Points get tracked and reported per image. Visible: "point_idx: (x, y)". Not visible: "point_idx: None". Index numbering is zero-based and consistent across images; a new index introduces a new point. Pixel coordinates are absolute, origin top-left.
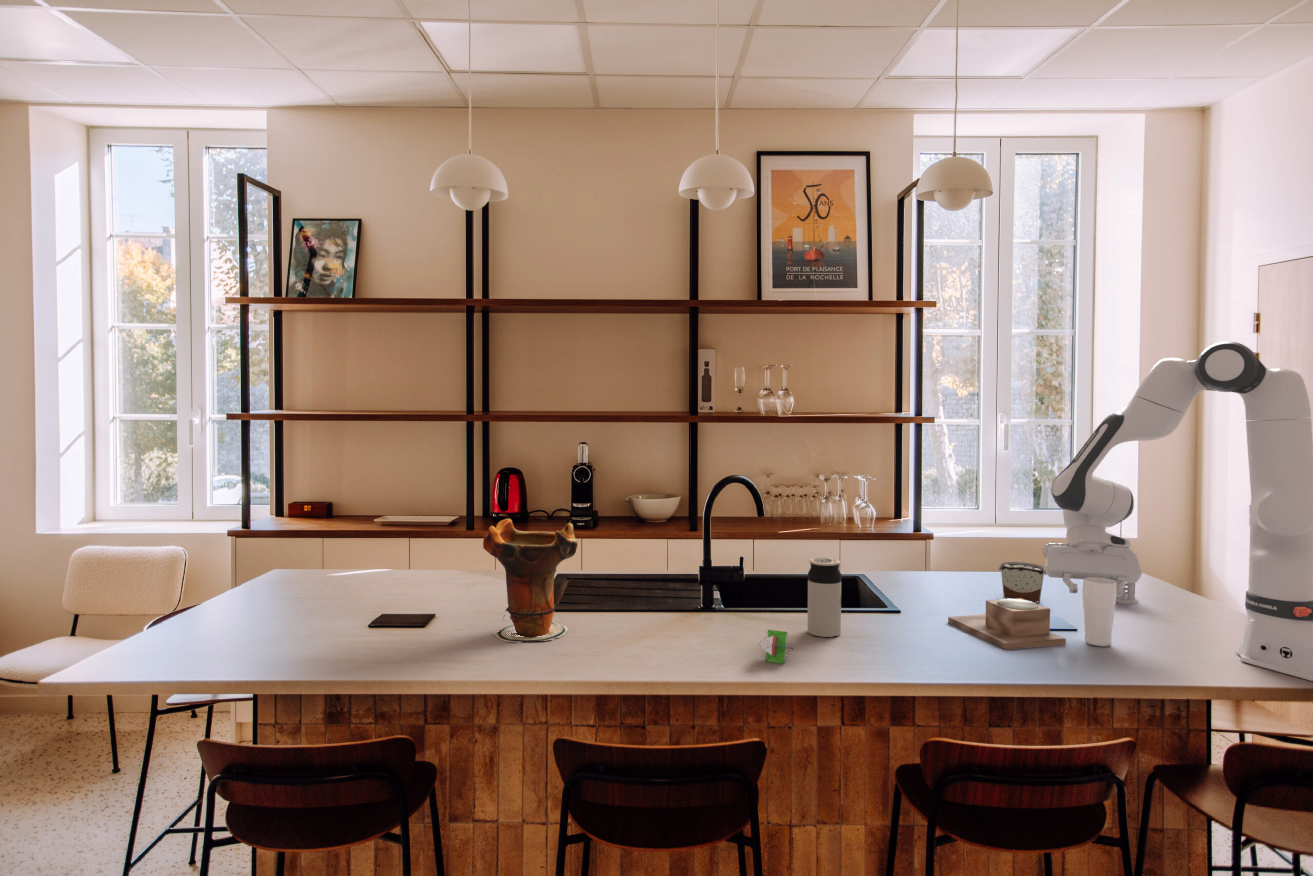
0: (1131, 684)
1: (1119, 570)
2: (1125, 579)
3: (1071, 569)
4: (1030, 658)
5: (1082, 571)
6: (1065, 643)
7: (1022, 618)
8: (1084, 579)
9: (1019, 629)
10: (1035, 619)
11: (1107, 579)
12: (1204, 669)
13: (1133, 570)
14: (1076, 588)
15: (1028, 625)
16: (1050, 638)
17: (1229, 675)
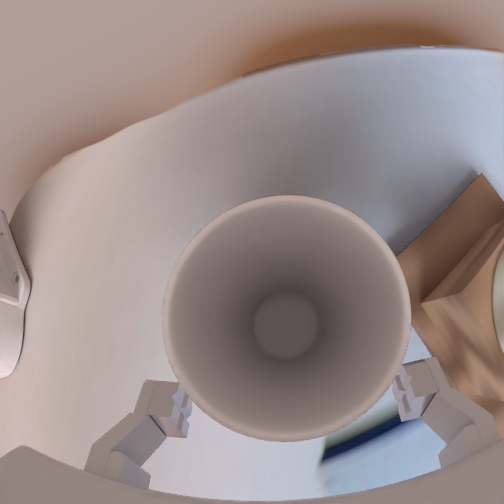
0: (259, 73)
1: (91, 501)
2: (91, 451)
3: (480, 464)
4: (429, 141)
5: (401, 487)
6: None
7: (500, 231)
8: (407, 304)
9: (486, 236)
10: (475, 261)
11: (208, 405)
12: (99, 206)
13: (22, 476)
14: (411, 365)
15: (478, 250)
16: (417, 252)
17: (78, 190)
